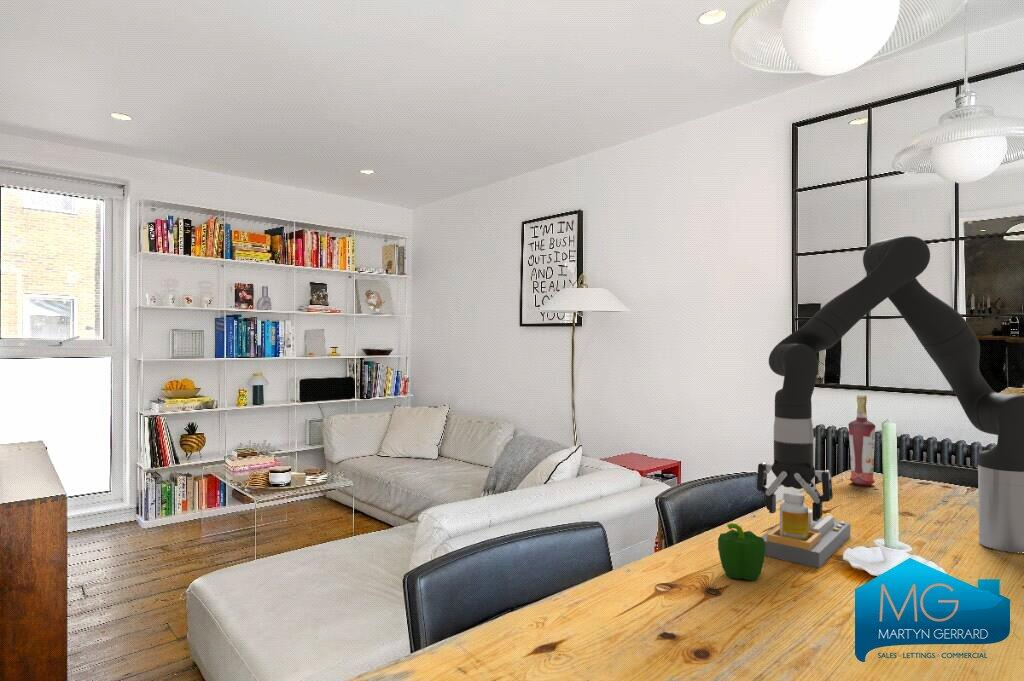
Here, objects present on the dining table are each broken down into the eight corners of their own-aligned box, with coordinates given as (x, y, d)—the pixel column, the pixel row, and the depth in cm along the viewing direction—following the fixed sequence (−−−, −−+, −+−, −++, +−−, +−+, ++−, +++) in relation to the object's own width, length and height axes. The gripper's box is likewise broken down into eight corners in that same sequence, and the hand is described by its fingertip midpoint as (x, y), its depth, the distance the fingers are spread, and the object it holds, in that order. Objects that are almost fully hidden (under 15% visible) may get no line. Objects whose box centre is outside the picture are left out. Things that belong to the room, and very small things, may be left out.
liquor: (870, 488, 181) (870, 397, 181) (845, 484, 186) (844, 395, 186) (879, 485, 185) (878, 395, 186) (854, 480, 191) (853, 394, 191)
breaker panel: (850, 536, 136) (850, 514, 136) (819, 568, 116) (819, 542, 116) (794, 525, 144) (794, 505, 144) (756, 553, 124) (756, 530, 124)
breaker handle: (814, 532, 128) (814, 509, 128) (810, 535, 126) (810, 512, 126) (795, 528, 131) (795, 506, 131) (790, 531, 129) (790, 509, 129)
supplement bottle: (813, 544, 121) (813, 497, 121) (786, 544, 121) (786, 497, 121) (800, 536, 126) (800, 490, 126) (775, 536, 126) (775, 490, 126)
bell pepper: (764, 571, 115) (763, 519, 115) (767, 587, 107) (766, 532, 107) (718, 565, 118) (718, 515, 118) (718, 581, 110) (717, 527, 110)
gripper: (752, 437, 126) (752, 514, 126) (825, 444, 116) (826, 527, 116) (764, 433, 131) (764, 506, 131) (835, 440, 122) (836, 519, 122)
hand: (793, 516), depth 124 cm, fingers open, 8 cm apart
